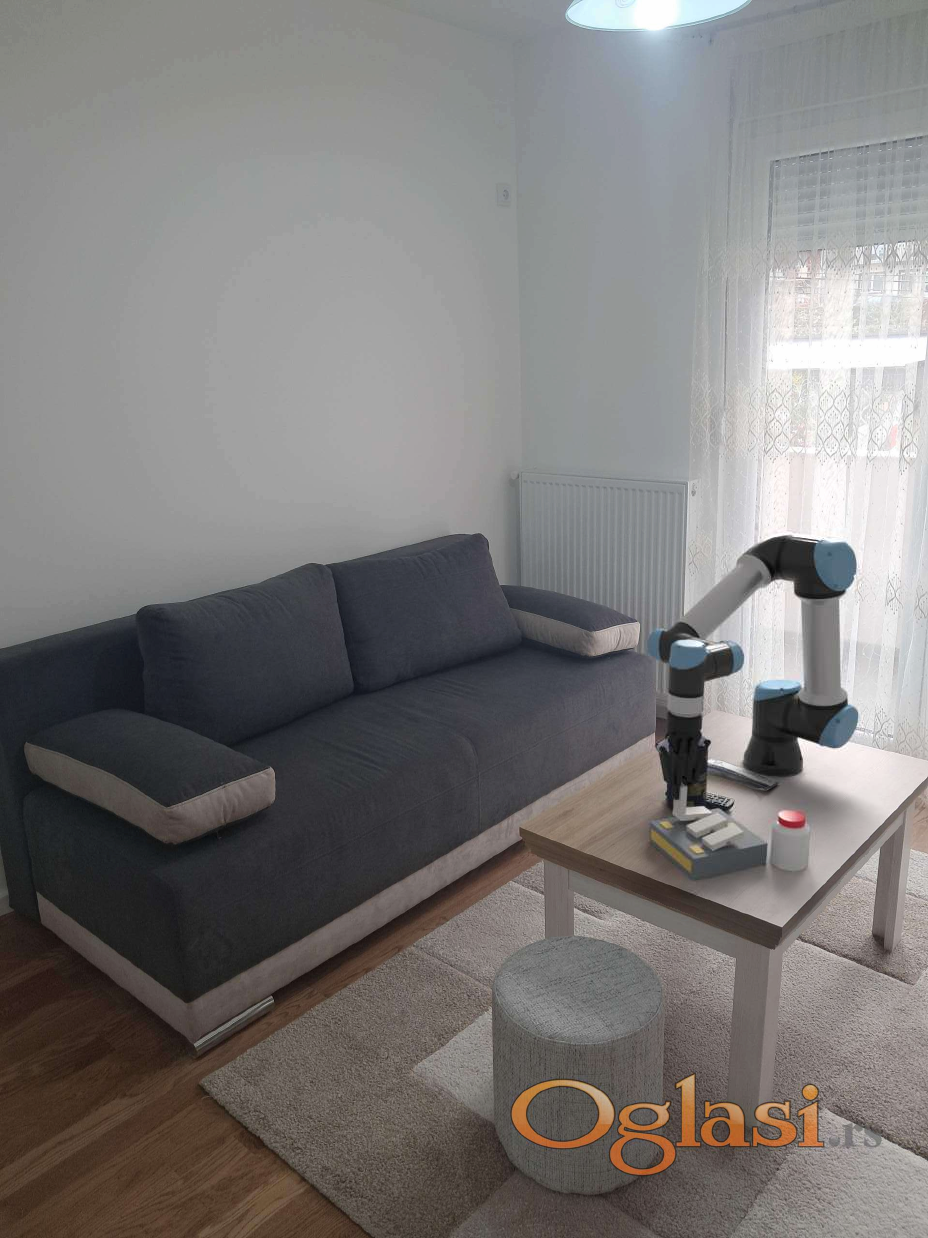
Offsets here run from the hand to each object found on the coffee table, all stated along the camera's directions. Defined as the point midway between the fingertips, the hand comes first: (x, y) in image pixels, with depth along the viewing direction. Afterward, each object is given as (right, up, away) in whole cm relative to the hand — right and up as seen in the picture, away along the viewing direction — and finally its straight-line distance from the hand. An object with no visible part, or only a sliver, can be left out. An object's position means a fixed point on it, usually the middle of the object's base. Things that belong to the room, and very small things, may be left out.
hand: (679, 811), depth 209 cm
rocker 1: (+3, -1, +2) cm, 4 cm away
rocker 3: (+7, -4, -9) cm, 12 cm away
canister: (+6, -3, +19) cm, 21 cm away
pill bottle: (+22, -10, -7) cm, 25 cm away
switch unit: (+5, -9, -2) cm, 10 cm away
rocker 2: (+5, -3, -4) cm, 7 cm away
